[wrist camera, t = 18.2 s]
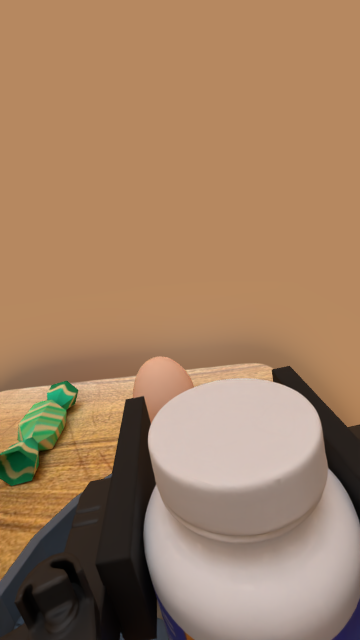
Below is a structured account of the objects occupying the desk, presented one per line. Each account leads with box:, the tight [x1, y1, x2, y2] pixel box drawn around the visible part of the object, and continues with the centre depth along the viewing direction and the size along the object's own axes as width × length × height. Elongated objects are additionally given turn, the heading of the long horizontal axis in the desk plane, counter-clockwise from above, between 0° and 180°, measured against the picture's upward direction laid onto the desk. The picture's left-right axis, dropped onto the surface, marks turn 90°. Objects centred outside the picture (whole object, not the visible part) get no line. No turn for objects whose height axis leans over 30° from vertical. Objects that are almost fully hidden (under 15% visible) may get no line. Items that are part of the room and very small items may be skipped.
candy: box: [0, 381, 78, 486], centre depth 32 cm, size 12×3×4 cm
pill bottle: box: [143, 378, 360, 640], centre depth 9 cm, size 5×5×10 cm
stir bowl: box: [0, 473, 169, 640], centre depth 13 cm, size 17×17×4 cm
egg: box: [133, 357, 194, 423], centre depth 29 cm, size 6×6×8 cm
